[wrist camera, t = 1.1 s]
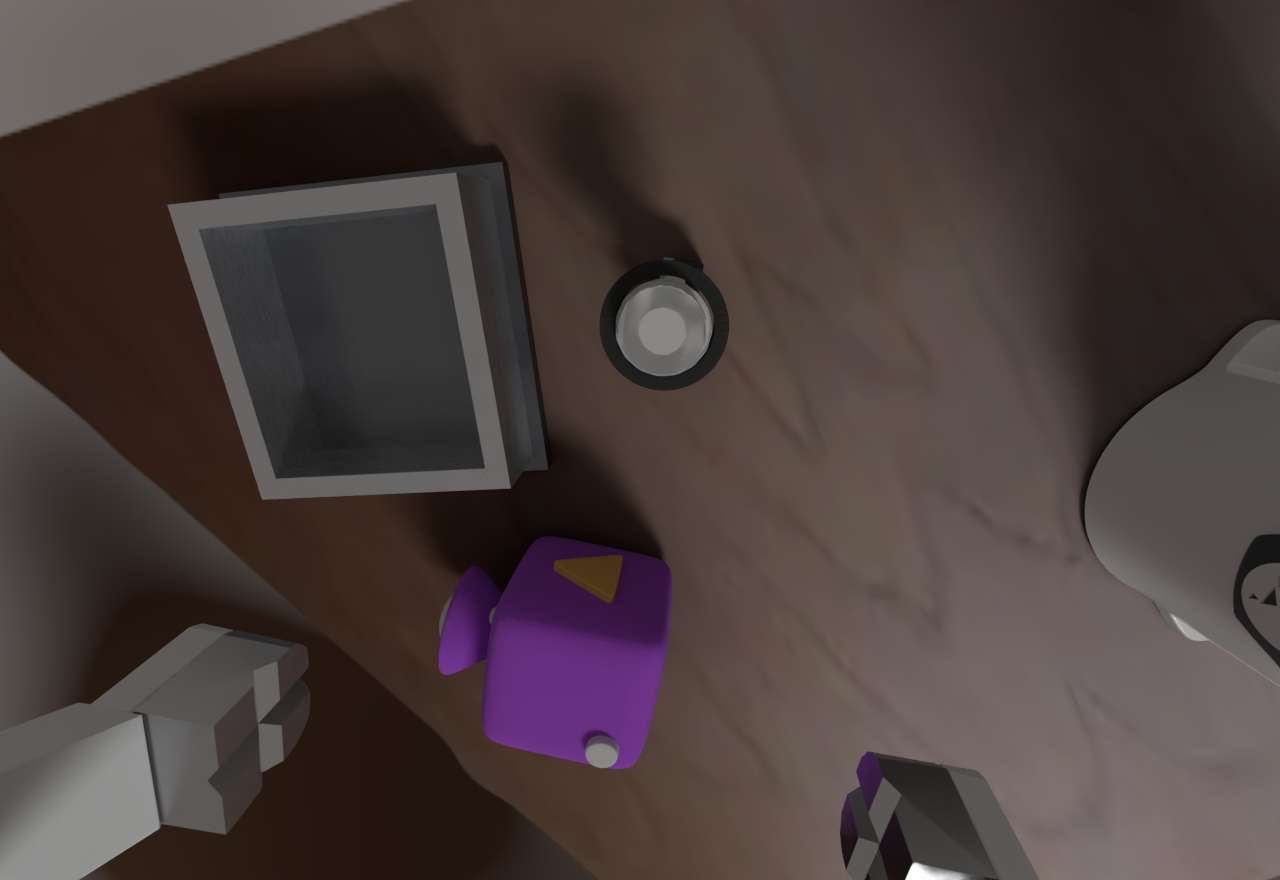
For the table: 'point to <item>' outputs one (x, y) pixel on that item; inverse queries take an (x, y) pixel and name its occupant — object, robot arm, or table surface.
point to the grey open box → (373, 331)
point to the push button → (664, 325)
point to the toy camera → (565, 649)
